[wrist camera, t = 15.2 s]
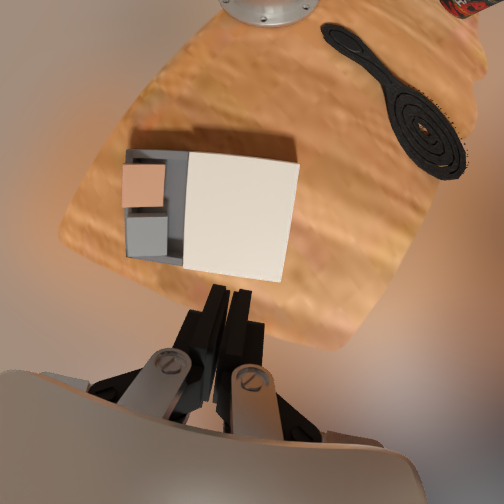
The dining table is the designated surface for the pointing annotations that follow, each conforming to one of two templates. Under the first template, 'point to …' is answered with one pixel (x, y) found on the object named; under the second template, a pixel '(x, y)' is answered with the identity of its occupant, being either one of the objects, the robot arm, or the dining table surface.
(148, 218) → the slate tile
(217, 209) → the board
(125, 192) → the terracotta tile
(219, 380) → the robot arm
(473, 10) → the deodorant
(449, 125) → the hairbrush
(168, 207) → the tray
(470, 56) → the dining table surface
